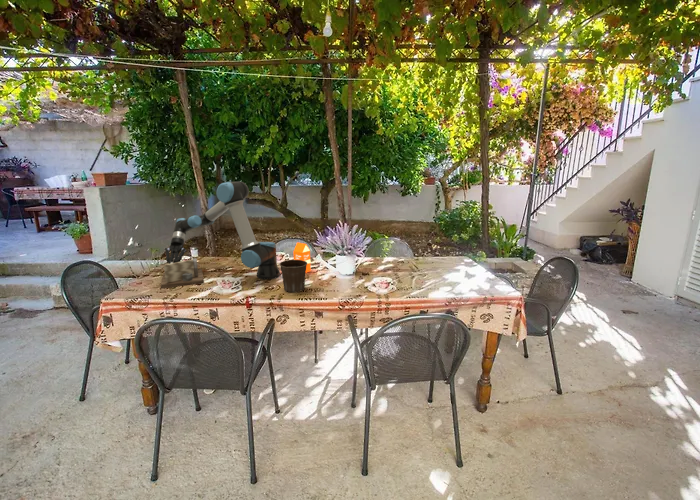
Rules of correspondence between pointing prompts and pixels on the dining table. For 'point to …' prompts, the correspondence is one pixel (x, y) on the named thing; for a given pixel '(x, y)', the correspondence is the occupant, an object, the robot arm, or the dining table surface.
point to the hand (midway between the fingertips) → (170, 272)
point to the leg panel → (178, 270)
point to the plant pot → (293, 275)
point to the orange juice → (302, 254)
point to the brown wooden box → (185, 278)
